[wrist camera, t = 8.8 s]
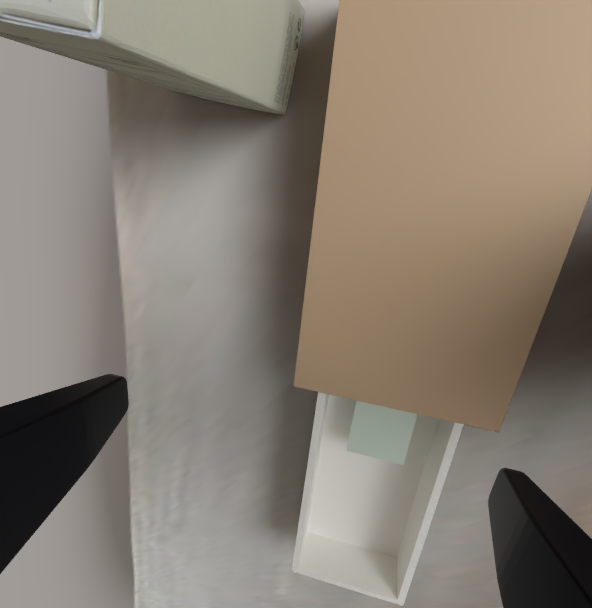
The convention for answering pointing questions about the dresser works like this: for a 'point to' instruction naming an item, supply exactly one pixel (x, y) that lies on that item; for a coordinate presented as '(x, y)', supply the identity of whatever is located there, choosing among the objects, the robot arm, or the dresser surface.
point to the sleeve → (444, 199)
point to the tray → (369, 504)
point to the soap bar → (380, 432)
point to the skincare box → (173, 43)
